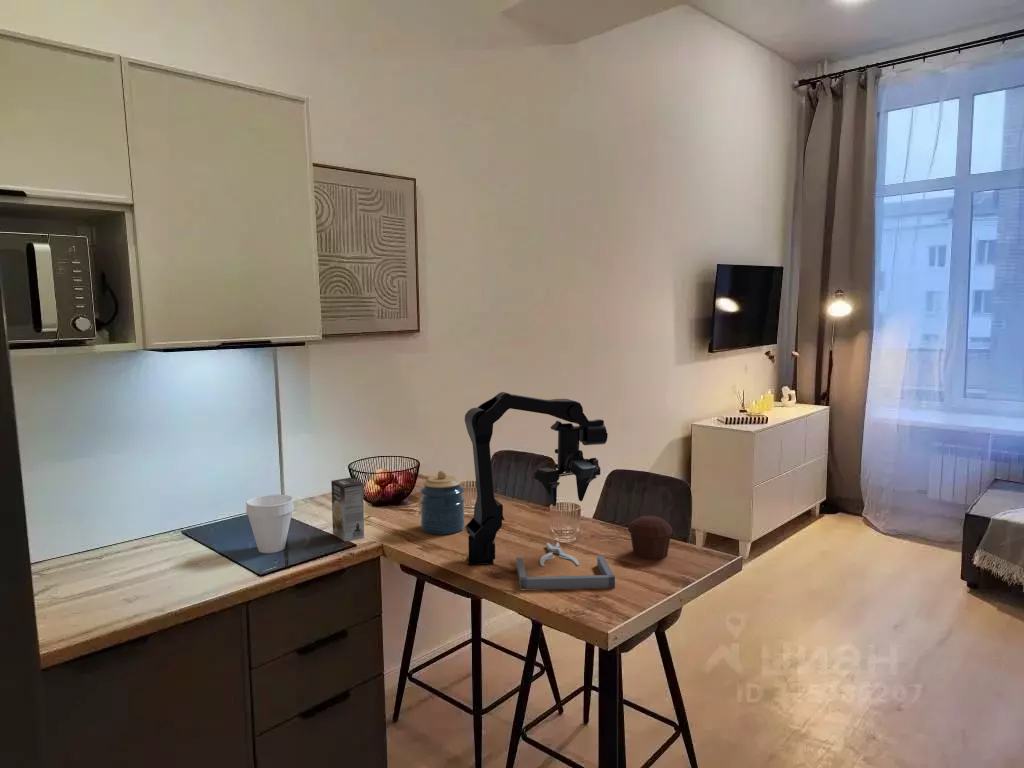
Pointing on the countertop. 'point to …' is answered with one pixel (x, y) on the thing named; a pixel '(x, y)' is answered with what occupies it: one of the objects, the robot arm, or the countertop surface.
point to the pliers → (558, 550)
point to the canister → (442, 505)
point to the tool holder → (568, 579)
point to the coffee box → (347, 509)
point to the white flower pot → (270, 521)
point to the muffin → (650, 537)
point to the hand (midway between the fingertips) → (567, 503)
